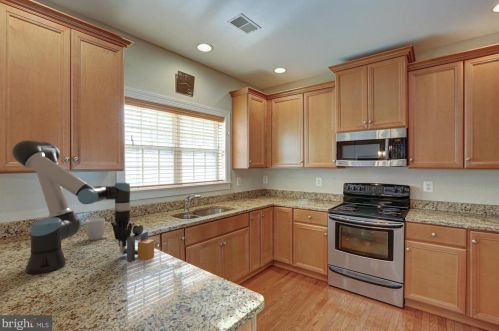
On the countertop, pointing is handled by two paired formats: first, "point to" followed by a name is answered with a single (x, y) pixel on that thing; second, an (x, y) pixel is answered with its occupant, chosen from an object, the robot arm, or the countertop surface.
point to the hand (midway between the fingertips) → (122, 252)
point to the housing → (131, 241)
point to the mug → (96, 228)
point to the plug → (143, 249)
